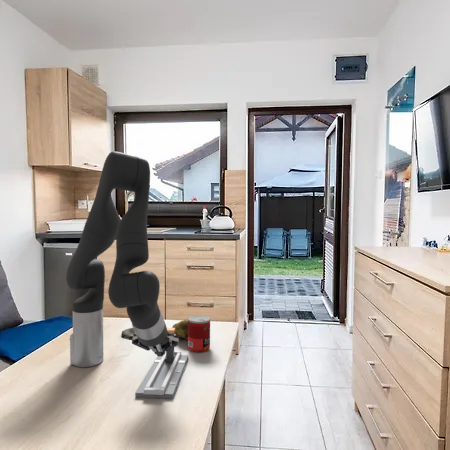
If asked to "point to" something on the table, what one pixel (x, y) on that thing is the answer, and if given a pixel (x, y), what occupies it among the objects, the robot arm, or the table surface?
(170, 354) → the fader tab
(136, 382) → the table surface
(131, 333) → the grey rough oval piece
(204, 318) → the canned food
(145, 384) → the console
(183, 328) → the potato
